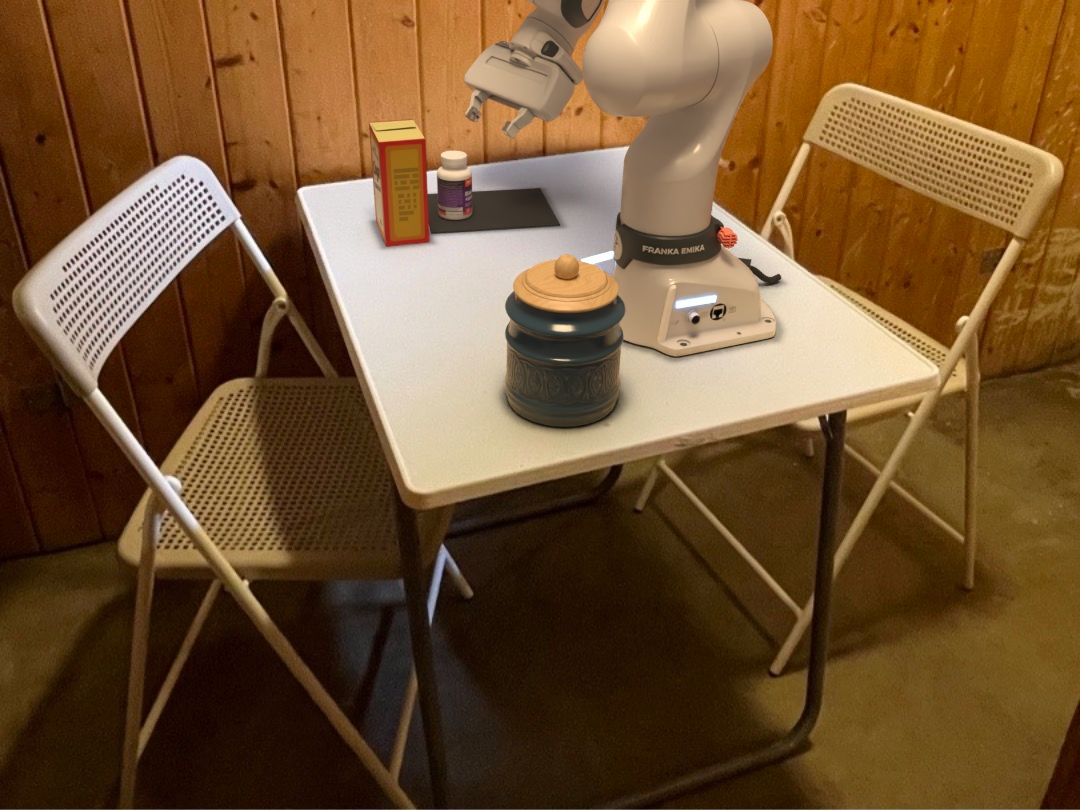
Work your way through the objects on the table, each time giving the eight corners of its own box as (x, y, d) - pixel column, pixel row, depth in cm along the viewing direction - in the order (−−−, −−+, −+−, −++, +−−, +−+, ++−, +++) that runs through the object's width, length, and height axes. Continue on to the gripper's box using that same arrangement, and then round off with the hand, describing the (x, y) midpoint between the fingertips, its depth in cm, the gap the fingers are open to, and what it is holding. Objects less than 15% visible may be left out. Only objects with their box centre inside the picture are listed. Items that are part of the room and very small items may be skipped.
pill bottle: (472, 221, 157) (471, 160, 152) (437, 221, 156) (435, 160, 151) (472, 208, 161) (471, 148, 156) (438, 208, 161) (436, 148, 156)
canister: (530, 440, 108) (533, 291, 98) (488, 380, 118) (487, 240, 108) (638, 415, 112) (651, 271, 103) (589, 360, 122) (596, 224, 113)
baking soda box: (429, 242, 151) (425, 136, 142) (386, 246, 149) (378, 140, 140) (417, 218, 158) (412, 116, 150) (375, 222, 157) (368, 119, 148)
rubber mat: (540, 189, 170) (540, 187, 169) (560, 226, 157) (560, 224, 157) (421, 196, 166) (420, 194, 166) (431, 233, 153) (431, 232, 153)
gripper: (485, 26, 160) (436, 98, 160) (570, 53, 147) (517, 132, 147) (507, 51, 164) (460, 121, 164) (592, 79, 151) (540, 155, 151)
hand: (488, 126), depth 155 cm, fingers open, 8 cm apart
